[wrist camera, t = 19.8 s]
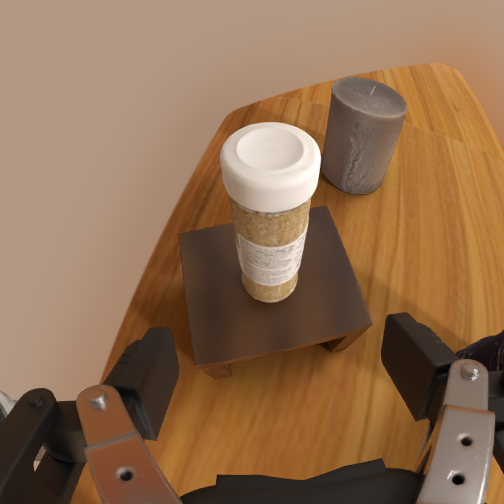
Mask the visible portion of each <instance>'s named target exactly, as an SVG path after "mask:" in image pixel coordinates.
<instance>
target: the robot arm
mask: <svg viewBox="0 0 504 504" xmlns="http://www.w3.org/2000/svg"><path fill="white" fill-rule="evenodd" d="M381 359H382V363H383V365H384V367H385V369H386V370H387V372H388V374H389V376H390V377H391V379H392V381H393V382H394V384H395V386H396V387H397V389H398V391H399V393H400V394H401V396H402V398H403V400H404V401H405V403H406V405H407V407H408V408H409V410H410V412H411V414H412V416H413V417H414V419H415V421H419V420H423V419H426V418H428V419H429V420H430V422H429V424H428V427H427V429H426V432H425V436H424V439H423V442H422V445H421V448H420V450H419V453H418V456H417V459H416V461H415V464H414V466H413V469H412V471H410V470H405V469H398V468H386V467H385V464H384V462H383V459H382V458H381V459H377V460H372V461H368V462H363V463H358V464H353V465H348V466H343V467H341V468H338V469H336V470H333V471H330V472H327V473H325V474H322V475H319V476H316V477H313V478H310V479H306V480H293V479H284V478H277V477H270V476H263V475H217V479H216V485H214V486H208V487H204V488H200V489H197V490H194V491H191V492H189V493H187V494H185V495H182V496H181V497H178V496H177V494H176V493H175V491H174V490H173V488H172V487H171V485H170V484H169V482H168V481H167V479H166V478H165V476H164V474H163V473H162V471H161V470H160V468H159V466H158V465H157V463H156V461H155V460H154V458H153V456H152V455H151V453H150V451H149V450H148V448H147V446H146V444H145V443H144V439H147V440H155V441H157V438H158V435H159V432H160V429H161V426H162V423H163V420H164V417H165V414H166V411H167V408H168V405H169V402H170V399H171V396H172V394H173V391H174V388H175V385H176V382H177V379H178V375H179V364H178V359H177V354H176V350H175V345H174V340H173V335H172V331H171V329H170V328H149V329H148V331H147V332H146V334H145V335H144V337H143V338H142V340H136V341H135V342H134V343H132V344H131V345H129V346H128V347H127V348H126V350H125V351H124V353H123V354H122V357H120V359H119V360H118V362H117V364H116V365H115V366H114V368H113V369H112V371H111V372H110V374H109V375H108V377H107V378H106V380H105V381H104V383H103V384H102V385H95V386H91V387H89V388H87V389H85V390H84V391H82V392H81V393H80V394H79V395H78V397H77V399H76V401H58V402H57V401H56V399H55V397H54V395H53V393H52V392H51V391H50V390H48V389H45V388H37V389H33V390H30V391H28V392H27V393H25V394H24V395H23V396H22V397H21V398H20V399H19V401H18V402H17V403H16V405H15V406H14V407H13V408H12V410H11V411H10V412H9V414H8V415H7V412H6V410H5V409H4V407H3V405H2V404H1V403H0V504H69V503H70V501H71V498H72V495H73V493H74V490H75V488H76V485H77V483H78V480H79V478H80V475H81V473H82V470H83V468H84V466H85V463H86V462H88V465H89V468H90V471H91V474H92V477H93V480H94V482H95V485H96V488H97V490H98V493H99V495H100V498H101V500H102V503H103V504H487V503H484V501H485V496H486V491H487V486H488V481H489V475H490V468H491V461H492V454H493V455H494V457H495V459H496V461H497V463H498V464H499V466H500V468H501V470H502V472H503V474H504V368H503V370H501V371H489V372H488V371H487V369H486V367H485V366H484V365H483V364H481V363H480V362H478V361H475V360H471V359H459V358H458V357H457V356H456V355H455V354H454V353H453V352H452V350H451V349H450V348H449V347H448V346H447V345H446V344H445V343H444V342H443V343H442V340H441V339H440V338H439V337H437V335H436V334H435V333H434V332H433V331H432V330H431V329H430V328H429V327H427V326H425V325H423V324H421V323H417V322H416V321H415V320H414V319H413V318H412V317H411V315H410V314H409V313H407V312H404V313H397V314H389V315H388V316H387V318H386V322H385V329H384V336H383V342H382V348H381ZM42 445H43V447H44V448H45V449H46V452H45V454H44V456H43V458H42V459H41V462H40V463H39V465H38V467H37V469H36V471H34V466H33V464H34V459H35V457H36V456H37V454H38V452H39V450H40V448H41V447H42Z"/></svg>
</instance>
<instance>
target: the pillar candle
mask: <svg viewBox="0 0 504 504" xmlns="http://www.w3.org/2000/svg"><path fill="white" fill-rule="evenodd" d="M406 111H407V103H406V102H405V100H404V98H403V97H402V96H401V95H400V94H399V93H397V92H396V91H395V90H393V89H392V88H391V87H389V86H387V85H385V84H383V83H380V82H377V81H375V80H371V79H366V78H358V77H350V78H343V79H340V80H338V81H335V82H334V83H333V84H332V94H331V103H330V110H329V117H328V123H327V130H326V136H325V143H324V150H323V157H322V164H321V169H322V172H323V174H324V175H325V177H326V178H327V179H328V180H329V181H330V182H331V183H332V184H333V185H334V186H335V187H336V188H338V189H340V190H342V191H344V192H347V193H351V194H367V193H370V192H373V191H374V190H376V189H377V188H379V187H380V185H381V183H382V180H383V178H384V176H385V173H386V171H387V168H388V165H389V163H390V160H391V157H392V154H393V151H394V148H395V146H396V143H397V140H398V137H399V134H400V131H401V128H402V125H403V122H404V118H405V115H406Z"/></svg>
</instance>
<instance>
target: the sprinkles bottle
mask: <svg viewBox="0 0 504 504" xmlns="http://www.w3.org/2000/svg"><path fill="white" fill-rule="evenodd" d="M320 162H321V155H320V150H319V147H318V145H317V144H316V142H315V141H314V139H313V138H312V137H311V136H310V135H308V134H307V133H306V132H304V131H303V130H301V129H299V128H297V127H294V126H291V125H288V124H284V123H277V122H264V123H257V124H252V125H249V126H246V127H244V128H241V129H239V130H238V131H236V132H235V133H233V134H232V135H231V136H230V137H229V138H228V139H227V140H226V141H225V143H224V144H223V146H222V149H221V153H220V163H221V170H222V176H223V182H224V186H225V188H226V191H227V193H228V194H229V195H230V202H231V208H232V214H233V222H234V228H235V234H236V246H237V251H238V257H239V263H240V266H241V269H242V282H243V285H244V287H245V289H246V291H247V292H248V293H249V294H250V295H251V296H252V297H253V298H254V299H257V300H260V301H262V302H268V303H271V302H278V301H281V300H283V299H285V298H286V297H288V296H289V295H290V294H291V293H292V292H293V291H294V289H295V287H296V285H297V281H298V269H299V267H300V263H301V258H302V253H303V248H304V243H305V237H306V232H307V227H308V221H309V215H308V214H309V210H310V203H311V197H312V195H313V193H314V191H315V190H316V187H317V183H318V178H319V171H320Z"/></svg>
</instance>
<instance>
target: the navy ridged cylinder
mask: <svg viewBox="0 0 504 504" xmlns="http://www.w3.org/2000/svg"><path fill="white" fill-rule="evenodd" d="M455 355H456V356H457V357H458V358H459V359H471V360H475V361H478V362H480V363H481V364H483V365H484V366H485V367H486V369H487V371H488V372H489V371H501V370H503V368H504V330H503V331H502V332H501V333H499V334H497V335H495V336H489V337H485V338H482V339H480V340H479V341H477V342H475V343H473V344H471V345H469V346H468V347H467V348H465V349H463V350H461V351H458V352H457V353H456V354H455Z"/></svg>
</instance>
